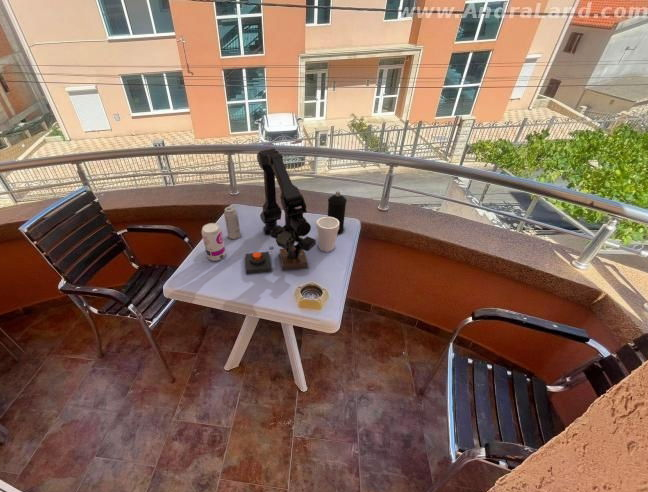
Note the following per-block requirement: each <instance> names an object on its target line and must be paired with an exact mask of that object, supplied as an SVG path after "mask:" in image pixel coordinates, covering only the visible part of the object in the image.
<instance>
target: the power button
mask: <svg viewBox="0 0 648 492" xmlns="http://www.w3.org/2000/svg"><path fill="white" fill-rule="evenodd" d="M253 253H254V254H253V259H254V260H261V258H262V255H261V253H260V251H255V252H253Z"/></svg>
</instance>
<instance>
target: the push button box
mask: <svg viewBox="0 0 648 492" xmlns="http://www.w3.org/2000/svg"><path fill="white" fill-rule="evenodd" d="M259 252H260V251H259ZM254 253H255V252H251V253H245V269H246V275H251V274H260V273H261V274H262V273H271V272H272V267H271V259H270V252H269V251H261V252H260V253H261V255H262V258H261V260H254V259H253V254H254Z"/></svg>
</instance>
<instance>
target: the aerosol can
mask: <svg viewBox="0 0 648 492" xmlns="http://www.w3.org/2000/svg"><path fill="white" fill-rule="evenodd" d="M347 200H348V199H347V198H346V197H345V196H344V195H342V194H341V190H336V191H335V194H333V195H331V196H330V197H329V198H328V199H327V202H328V203H327V217H334V218H336V219H338V221H339V230H338V233H337V235H340V234H342V233H344V231H345V229H344V227H345V226H344V225H345V215H346V205H347Z"/></svg>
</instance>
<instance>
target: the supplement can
mask: <svg viewBox="0 0 648 492" xmlns="http://www.w3.org/2000/svg"><path fill="white" fill-rule="evenodd" d="M201 236H202V240H203V245H204V248H205V253H206V257H207V259H208V260H210V261H212V262H214V261H215V262H218V261H220V260H222V259H224V258H225V257H226V255H227V253H226V252H227V251H226V247H225V241H224V237H223V232H222V228H221V226H220V225H219V224H218V223H215V222H209V223H206V224H204V225H202V228H201Z"/></svg>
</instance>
